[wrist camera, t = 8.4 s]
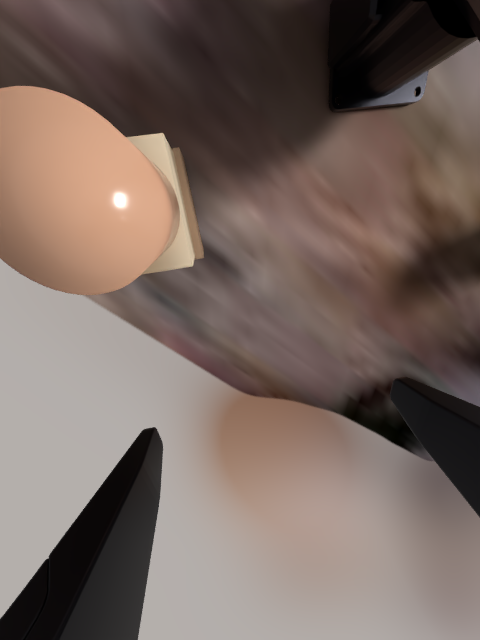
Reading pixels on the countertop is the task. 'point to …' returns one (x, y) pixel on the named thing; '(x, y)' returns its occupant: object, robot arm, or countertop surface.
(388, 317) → the countertop surface
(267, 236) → the countertop surface
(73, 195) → the tan rounded piece
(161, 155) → the maple block
